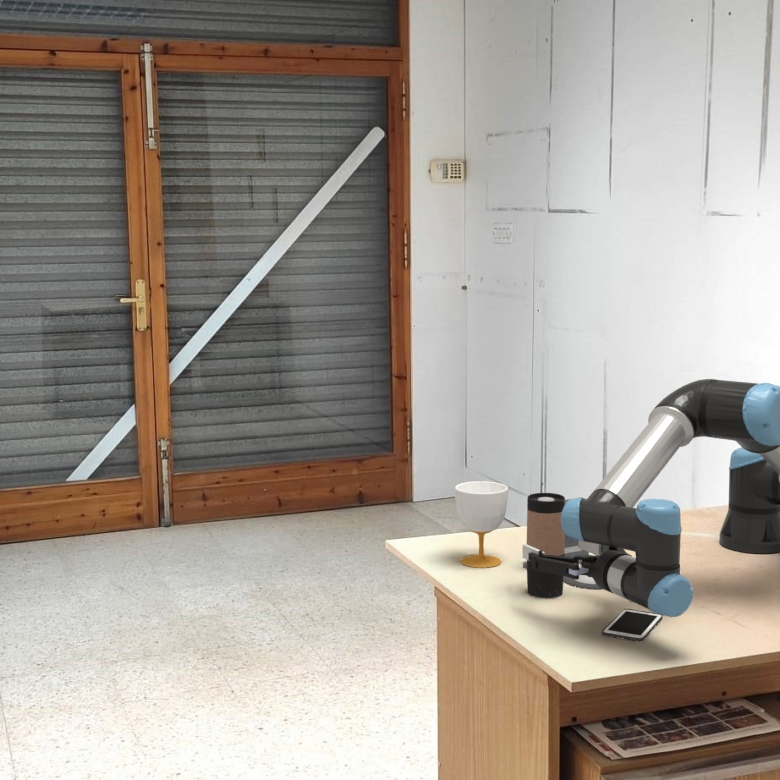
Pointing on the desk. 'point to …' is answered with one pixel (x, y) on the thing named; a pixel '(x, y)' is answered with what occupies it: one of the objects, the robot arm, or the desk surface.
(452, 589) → the desk surface
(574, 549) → the breaker panel
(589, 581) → the pad
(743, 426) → the robot arm
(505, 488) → the cup
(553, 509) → the travel mug
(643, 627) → the cell phone
